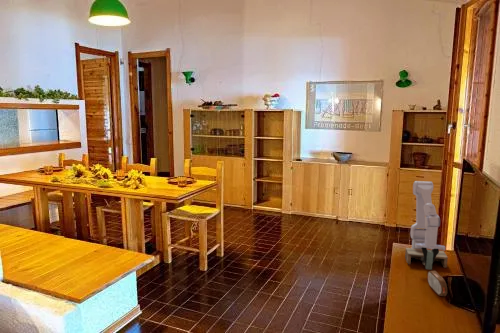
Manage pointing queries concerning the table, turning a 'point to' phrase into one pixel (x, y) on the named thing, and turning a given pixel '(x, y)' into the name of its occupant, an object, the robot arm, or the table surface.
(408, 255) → the grey bridge block
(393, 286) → the table surface
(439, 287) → the tin
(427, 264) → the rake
